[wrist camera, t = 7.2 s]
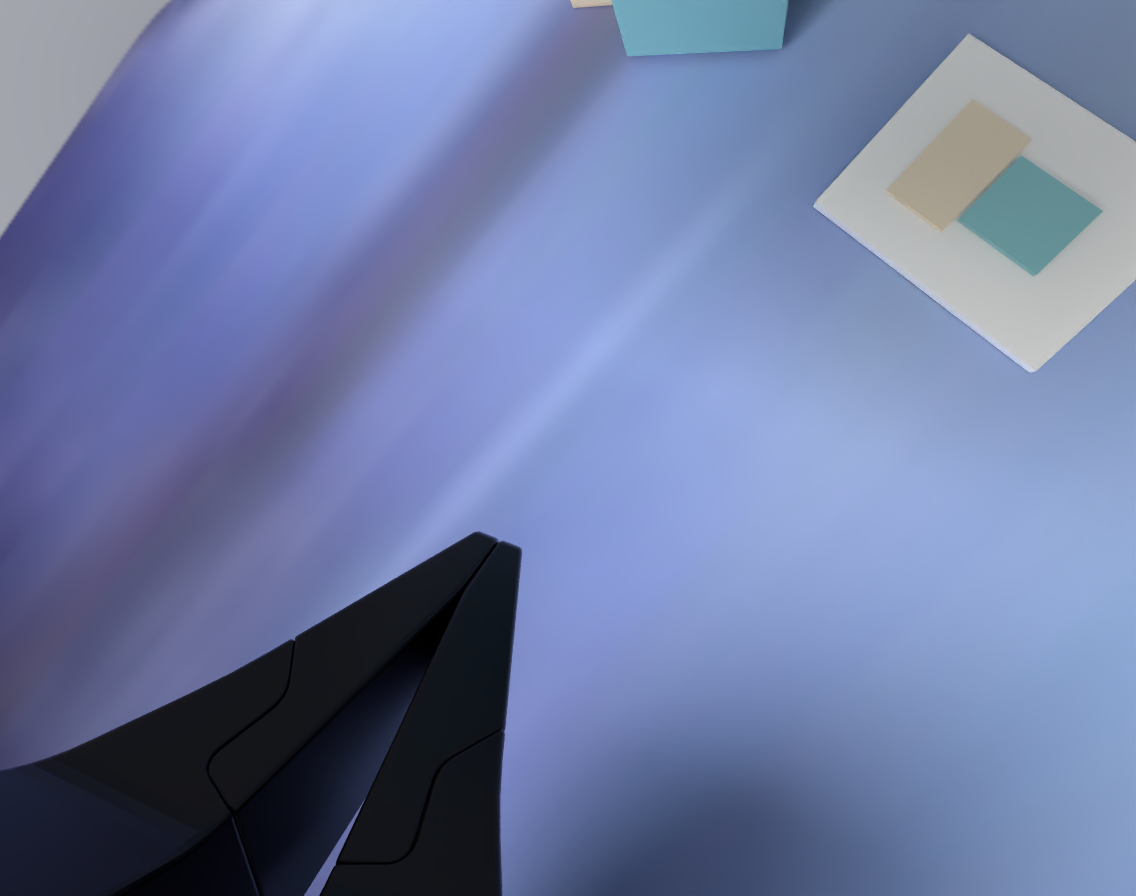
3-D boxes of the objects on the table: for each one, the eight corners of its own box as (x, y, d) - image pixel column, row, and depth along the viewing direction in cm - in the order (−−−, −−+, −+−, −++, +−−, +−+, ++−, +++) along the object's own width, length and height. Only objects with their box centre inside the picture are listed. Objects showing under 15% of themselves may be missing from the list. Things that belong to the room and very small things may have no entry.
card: (1211, 204, 15) (1229, 196, 15) (1029, 372, 17) (1039, 370, 16) (963, 42, 17) (971, 28, 16) (813, 206, 18) (815, 199, 18)
